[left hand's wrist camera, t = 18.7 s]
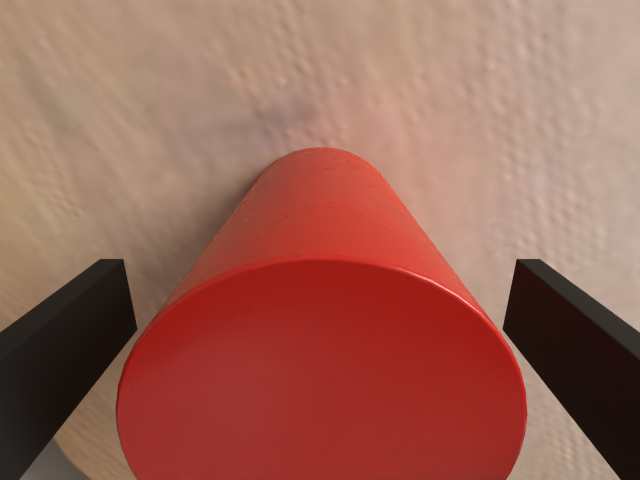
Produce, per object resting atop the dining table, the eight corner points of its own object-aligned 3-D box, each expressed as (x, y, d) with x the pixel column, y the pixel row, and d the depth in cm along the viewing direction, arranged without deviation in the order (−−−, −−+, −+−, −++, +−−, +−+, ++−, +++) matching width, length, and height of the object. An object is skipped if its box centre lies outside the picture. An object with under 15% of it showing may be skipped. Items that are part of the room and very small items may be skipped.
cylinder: (269, 123, 17) (156, 186, 5) (423, 179, 18) (617, 339, 6) (227, 267, 20) (88, 523, 8) (363, 310, 21) (420, 596, 9)
